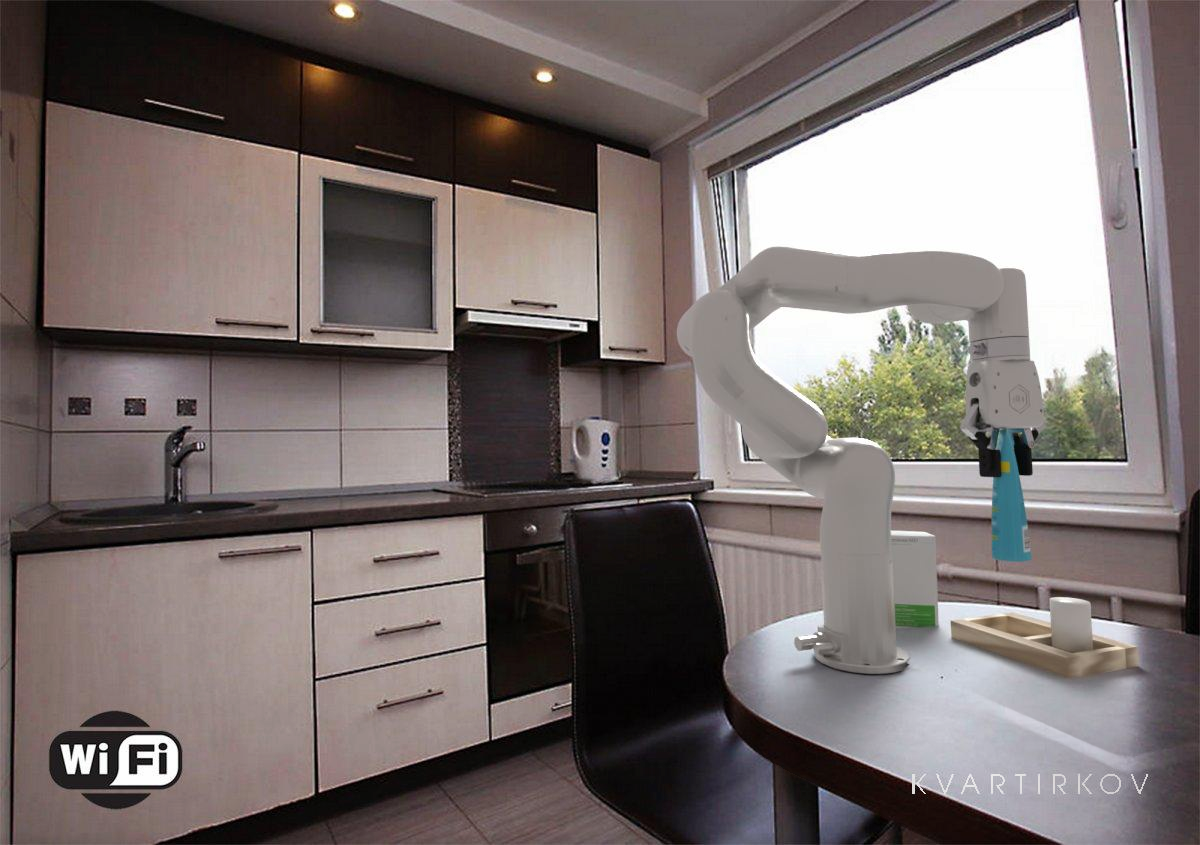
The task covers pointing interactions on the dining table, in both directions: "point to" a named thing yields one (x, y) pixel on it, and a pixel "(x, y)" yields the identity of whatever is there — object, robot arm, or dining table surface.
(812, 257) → the robot arm
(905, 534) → the skincare box
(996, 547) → the tube
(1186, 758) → the dining table surface
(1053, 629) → the white rounded cylinder
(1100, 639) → the birch holder
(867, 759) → the dining table surface
